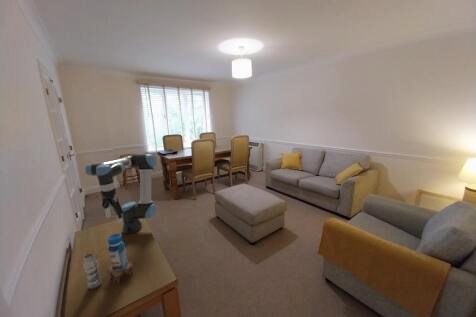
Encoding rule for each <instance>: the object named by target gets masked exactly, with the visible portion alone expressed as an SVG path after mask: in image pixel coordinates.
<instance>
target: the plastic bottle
mask: <svg viewBox="0 0 476 317" xmlns="http://www.w3.org/2000/svg"><path fill="white" fill-rule="evenodd" d="M83 269H84V273H85V274H86V278H87V281H86V282H87V287H88V288H89V289H92V290H93V289H96V288H98V287H99V286H100V285H101V284H102V281H103V280H102V276H101V275H100V271H99V260H97V259H96V258H95V257H94V255H93V253H88V254H86V255H84V263H83Z"/></svg>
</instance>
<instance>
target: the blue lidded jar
mask: <svg viewBox="0 0 476 317" xmlns="http://www.w3.org/2000/svg"><path fill="white" fill-rule="evenodd" d="M107 242H108V249H107V250H108V256H109V257H110V263H111V266H112V269H113V270H114V271H119V270H122V269H124V268H125V267H126V266H127V265H128V261H129V260H128V258H127V251H126V245H125V242H124V241H123V237H122V234H121V233H115V234H112V235H110V236H108V238H107ZM127 260H128V261H127Z"/></svg>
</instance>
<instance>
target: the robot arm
mask: <svg viewBox="0 0 476 317" xmlns="http://www.w3.org/2000/svg"><path fill="white" fill-rule="evenodd" d="M156 166H157V158H156V156H155V155H153V154H152V153H141V154H138V153H135V154H130V155H126V156H122V157H121V158H119V159H114V160H110V161H105V162H100V163H91V164H87V165H86V166H85V167H84V170H85V171H84V172H85V174H86V175H87V176H92V177H94V176H96V177H97V180H98V185H99V186H98V187H99V189H100V194H101V197H102V198H101V199H102V202H101V207H102V208H103V209H104V212H105V216H106V219H109V218H111V217H112V213H111V207H112V208H113V210H114V212H115V213H116V214H115V216H116V220H117V224H121V223H122V227H121V232H122V234H125V235H130V234H134V233H137V232H139V231H140V230H142V228H143V224H142V222H141V219H145V220H146V219H152V218H153V217H154V215H155V214H156V212H157V210H156V209H157V206H156V204H155V203H154V201H153V200H152V172H153V171H154V168H156ZM130 168H131V169H133V168H134V169H138V171H139V172H140V173H139V174H140V178H139V201H138V202H137V201H129V202H127V203H124V204H123V205H122V206H121V204H120V201H119V199H118V197H115V195H116V194H117V191H116V187H115V186H116V185H115V181H114V177H117V176H118V175H120V174H122V173H123V172H125V169H130ZM110 206H111V207H110Z"/></svg>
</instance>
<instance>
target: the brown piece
mask: <svg viewBox="0 0 476 317" xmlns="http://www.w3.org/2000/svg"><path fill="white" fill-rule="evenodd" d="M127 261H128V265H127V266H126V267H125V268H124V269H122V270H119V271H114V270H113V269H112V265H110V266H109V267H108V268H107V267H106V270H107V271H108V272H109V277H110V280H115V281H116V284H117V286H118V285H121V279H120V276H121V275H122V274H123V273H125V272H127V271H128V272H129V275H130V276H133V275H134V271H133V267H134V264H133V263H132V262H131V261H129V260H128V259H127Z"/></svg>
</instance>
